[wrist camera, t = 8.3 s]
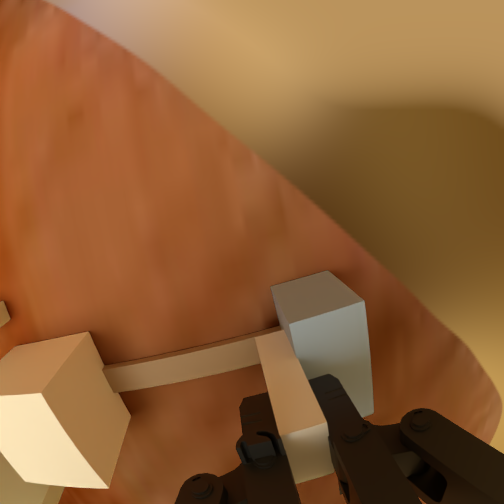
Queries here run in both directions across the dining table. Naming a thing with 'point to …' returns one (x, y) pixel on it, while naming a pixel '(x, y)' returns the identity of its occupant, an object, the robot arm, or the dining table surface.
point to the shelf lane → (11, 483)
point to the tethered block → (160, 381)
